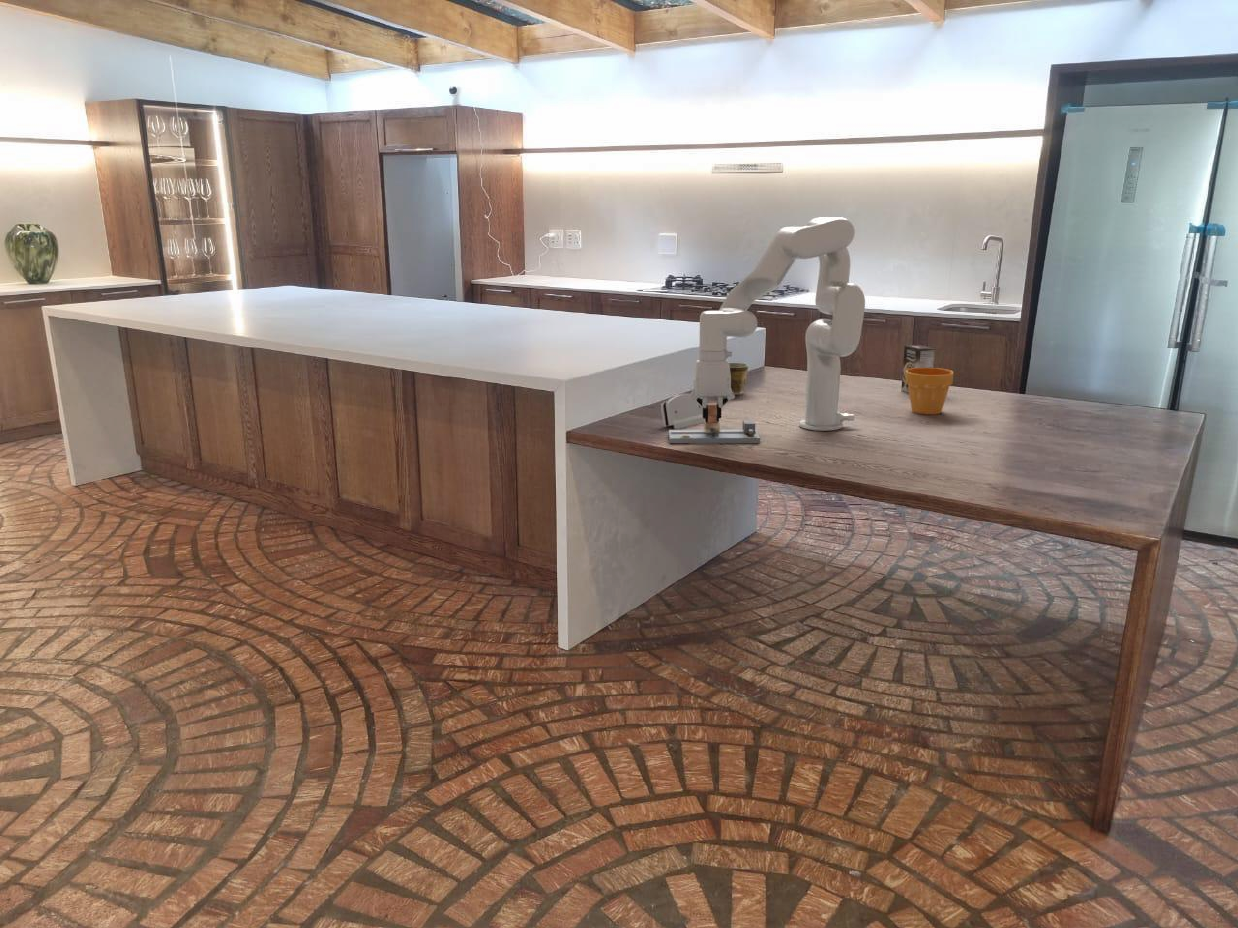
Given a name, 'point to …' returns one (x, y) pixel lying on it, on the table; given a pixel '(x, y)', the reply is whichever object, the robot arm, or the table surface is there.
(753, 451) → the table surface
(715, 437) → the gauge board
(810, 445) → the table surface
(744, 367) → the ceramic cup
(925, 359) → the coffee box
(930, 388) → the flower pot
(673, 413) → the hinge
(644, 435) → the table surface
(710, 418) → the block
